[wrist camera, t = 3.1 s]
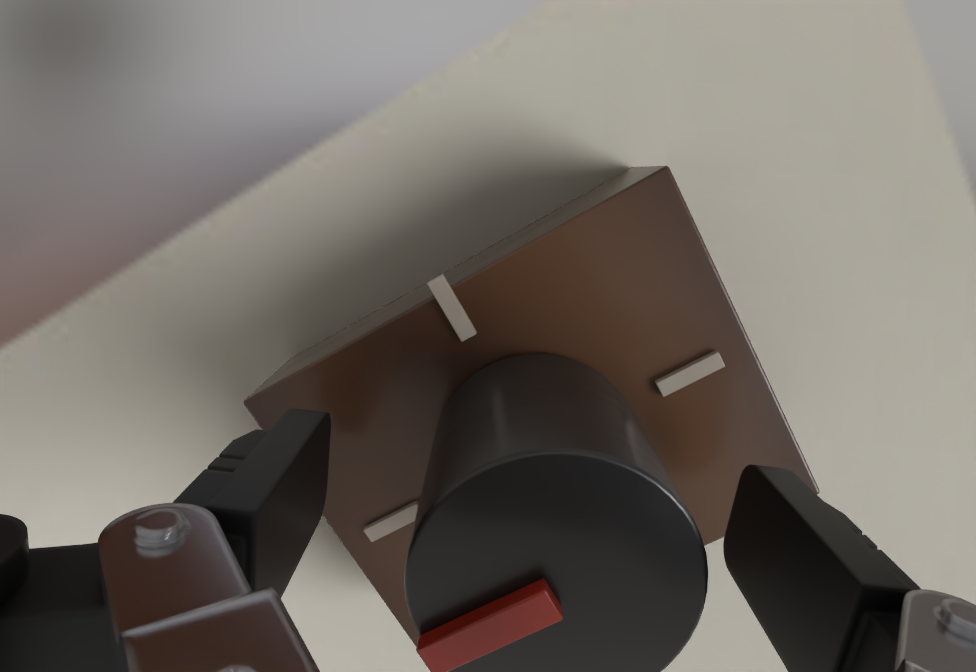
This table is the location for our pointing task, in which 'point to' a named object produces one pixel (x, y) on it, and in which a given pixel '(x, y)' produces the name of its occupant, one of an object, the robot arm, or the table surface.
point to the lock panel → (544, 330)
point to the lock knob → (549, 531)
